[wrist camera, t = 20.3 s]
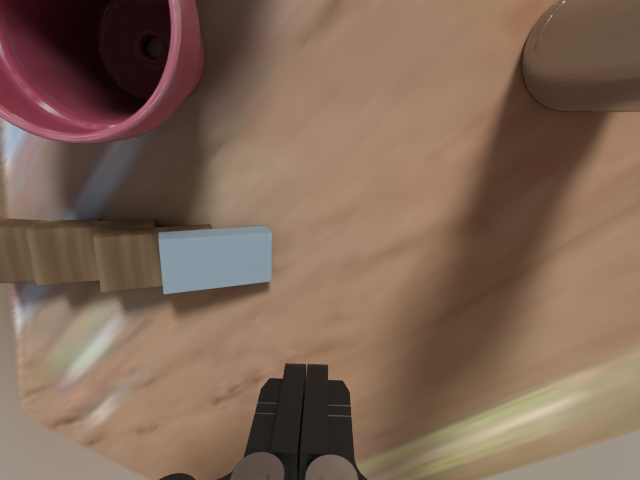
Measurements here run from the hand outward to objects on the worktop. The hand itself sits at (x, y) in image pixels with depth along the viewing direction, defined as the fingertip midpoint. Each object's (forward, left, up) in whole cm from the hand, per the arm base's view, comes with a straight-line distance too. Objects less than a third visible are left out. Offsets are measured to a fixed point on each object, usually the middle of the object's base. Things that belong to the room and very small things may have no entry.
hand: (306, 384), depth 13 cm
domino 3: (+8, +8, -24) cm, 26 cm away
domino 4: (+3, +6, -24) cm, 25 cm away
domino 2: (+13, +10, -24) cm, 29 cm away
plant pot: (+19, -6, -25) cm, 32 cm away
